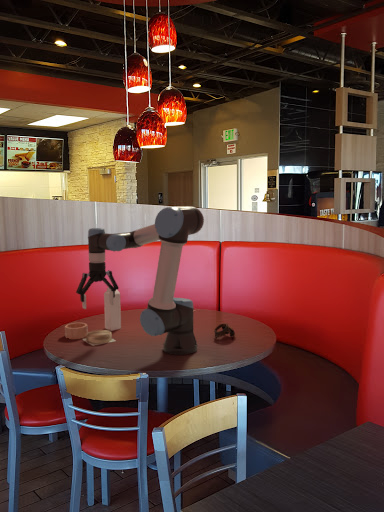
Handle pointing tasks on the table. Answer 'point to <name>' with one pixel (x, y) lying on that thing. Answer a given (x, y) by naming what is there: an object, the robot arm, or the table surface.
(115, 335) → the table surface
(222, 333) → the pottery mug
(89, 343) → the silicone mat
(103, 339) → the brass lid
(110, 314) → the milk
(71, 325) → the terracotta bowl
